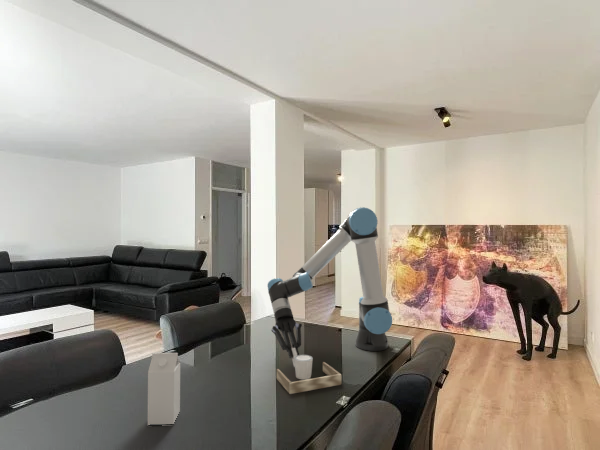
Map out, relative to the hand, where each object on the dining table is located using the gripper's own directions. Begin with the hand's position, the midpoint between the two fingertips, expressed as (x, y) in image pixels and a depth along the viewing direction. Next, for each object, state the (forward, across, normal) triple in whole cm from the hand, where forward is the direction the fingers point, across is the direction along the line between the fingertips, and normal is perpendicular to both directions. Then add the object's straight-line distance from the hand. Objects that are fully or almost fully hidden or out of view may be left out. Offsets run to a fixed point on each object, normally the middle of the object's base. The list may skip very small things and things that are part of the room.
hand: (296, 365), depth 138 cm
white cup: (+5, -1, 0) cm, 5 cm away
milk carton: (+14, +48, +10) cm, 51 cm away
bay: (+8, -1, +4) cm, 9 cm away
